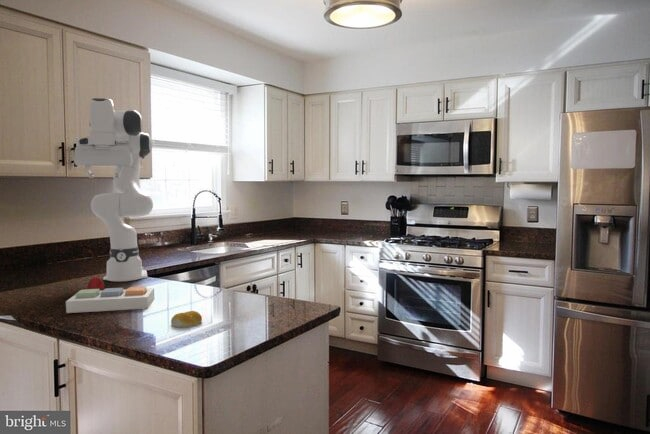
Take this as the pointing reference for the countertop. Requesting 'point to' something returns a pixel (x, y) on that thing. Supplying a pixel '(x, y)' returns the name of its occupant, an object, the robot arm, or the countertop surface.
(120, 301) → the keypad
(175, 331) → the countertop surface
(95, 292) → the key sage
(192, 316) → the bread roll
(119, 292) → the key slate
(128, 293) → the key terracotta
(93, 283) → the onion
